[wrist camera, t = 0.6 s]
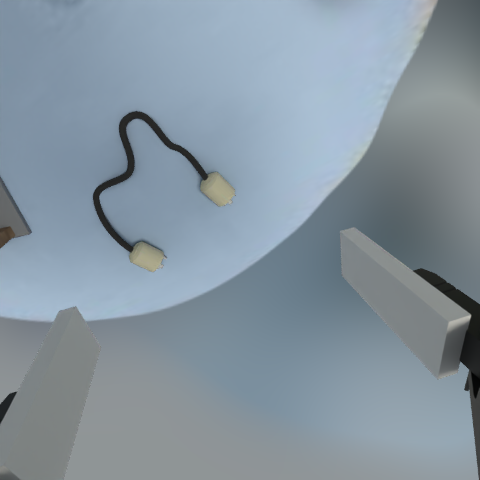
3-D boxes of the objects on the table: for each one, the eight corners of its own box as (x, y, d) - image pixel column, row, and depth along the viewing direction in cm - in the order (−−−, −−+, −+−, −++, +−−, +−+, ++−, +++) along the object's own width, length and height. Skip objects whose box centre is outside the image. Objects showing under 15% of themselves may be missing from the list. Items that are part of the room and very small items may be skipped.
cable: (53, 198, 36) (41, 208, 33) (142, 96, 33) (139, 96, 30) (155, 270, 42) (154, 283, 39) (236, 190, 40) (242, 198, 37)
